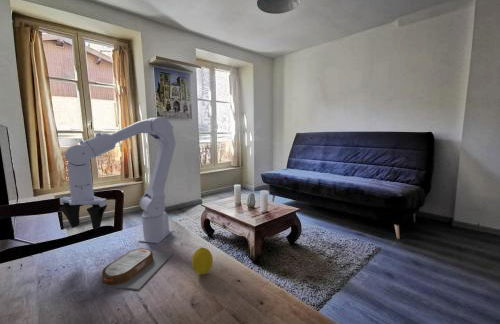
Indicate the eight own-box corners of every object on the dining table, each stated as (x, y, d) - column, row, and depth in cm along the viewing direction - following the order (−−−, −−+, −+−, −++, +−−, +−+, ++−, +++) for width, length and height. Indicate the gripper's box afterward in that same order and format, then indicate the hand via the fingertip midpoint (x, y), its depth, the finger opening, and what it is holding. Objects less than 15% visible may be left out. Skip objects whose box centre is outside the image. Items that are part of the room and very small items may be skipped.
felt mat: (141, 251, 79) (141, 250, 79) (172, 254, 77) (172, 253, 77) (100, 285, 62) (100, 284, 62) (138, 290, 60) (138, 289, 60)
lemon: (188, 274, 67) (187, 248, 65) (205, 266, 71) (204, 240, 69) (200, 283, 63) (199, 255, 62) (217, 274, 67) (216, 247, 66)
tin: (94, 282, 63) (120, 290, 61) (94, 271, 62) (120, 279, 60) (136, 253, 77) (159, 259, 75) (136, 244, 77) (159, 249, 74)
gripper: (47, 187, 70) (53, 231, 72) (91, 188, 67) (96, 234, 69) (69, 181, 77) (74, 221, 79) (110, 182, 74) (114, 224, 76)
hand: (86, 227), depth 75 cm, fingers open, 7 cm apart
